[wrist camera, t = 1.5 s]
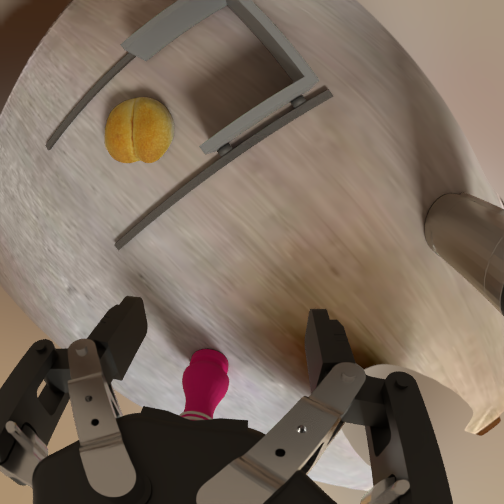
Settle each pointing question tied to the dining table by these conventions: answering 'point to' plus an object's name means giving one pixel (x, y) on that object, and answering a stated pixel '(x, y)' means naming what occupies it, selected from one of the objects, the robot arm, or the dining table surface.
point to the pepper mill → (204, 384)
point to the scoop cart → (206, 3)
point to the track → (206, 172)
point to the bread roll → (139, 130)
